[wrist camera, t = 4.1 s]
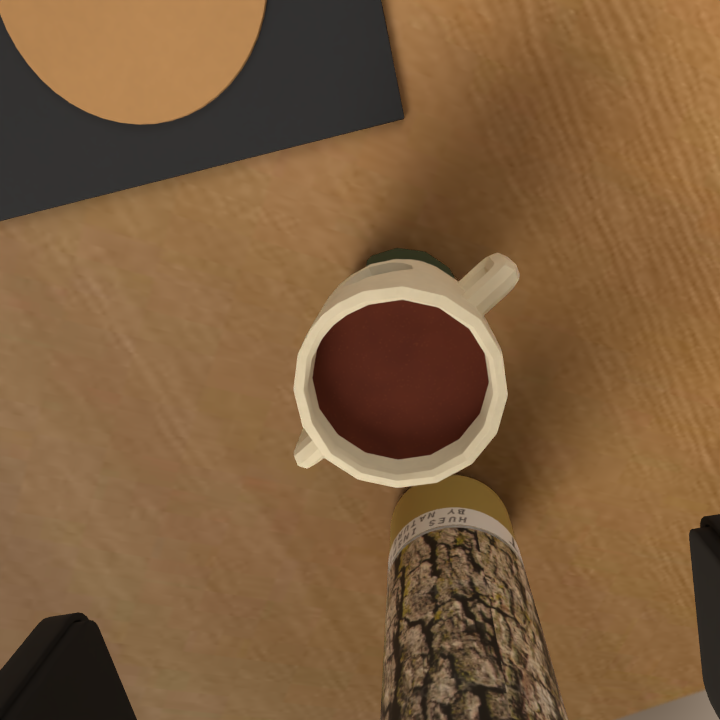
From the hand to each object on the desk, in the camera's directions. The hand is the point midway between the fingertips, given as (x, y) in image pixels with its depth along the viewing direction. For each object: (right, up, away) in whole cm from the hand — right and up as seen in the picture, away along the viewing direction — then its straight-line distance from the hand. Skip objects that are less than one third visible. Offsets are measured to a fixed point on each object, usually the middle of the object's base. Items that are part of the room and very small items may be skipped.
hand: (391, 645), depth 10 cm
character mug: (+2, +7, +23) cm, 24 cm away
